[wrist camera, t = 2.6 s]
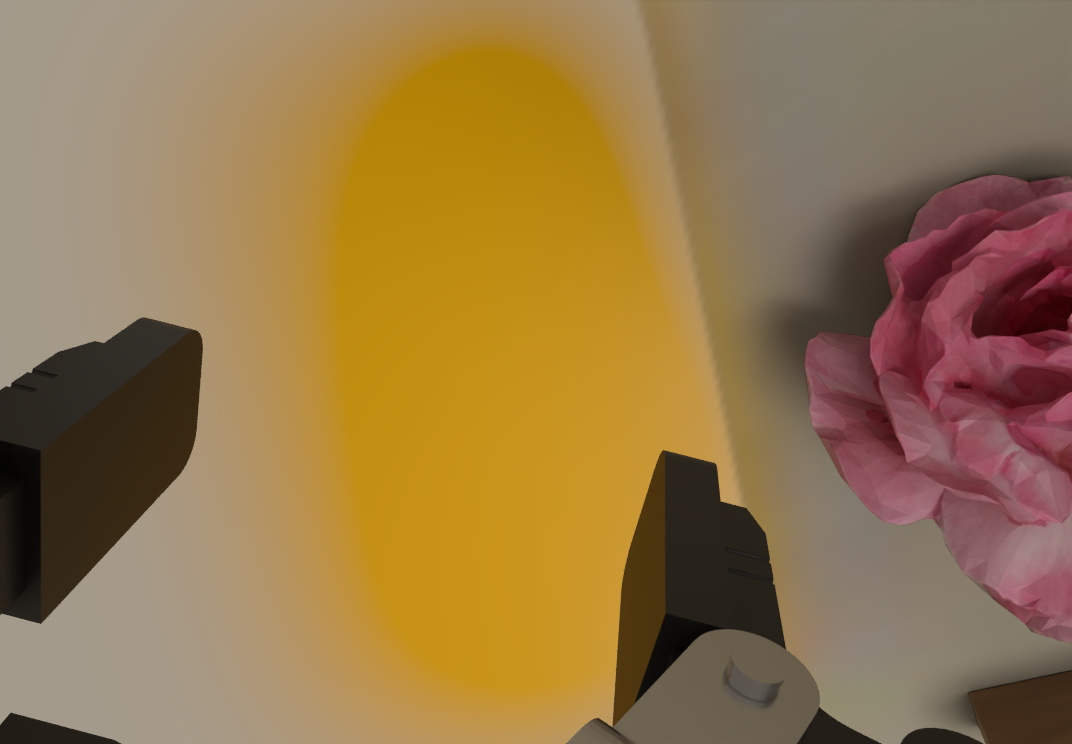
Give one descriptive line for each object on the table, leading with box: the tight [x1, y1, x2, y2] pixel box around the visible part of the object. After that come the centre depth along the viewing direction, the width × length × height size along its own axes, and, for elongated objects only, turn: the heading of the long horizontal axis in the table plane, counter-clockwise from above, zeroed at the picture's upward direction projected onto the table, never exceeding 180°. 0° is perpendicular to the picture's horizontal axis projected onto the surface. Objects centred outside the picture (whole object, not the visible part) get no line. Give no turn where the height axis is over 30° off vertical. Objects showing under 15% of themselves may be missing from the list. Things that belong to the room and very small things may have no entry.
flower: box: [804, 174, 1072, 642], centre depth 24 cm, size 11×10×10 cm
